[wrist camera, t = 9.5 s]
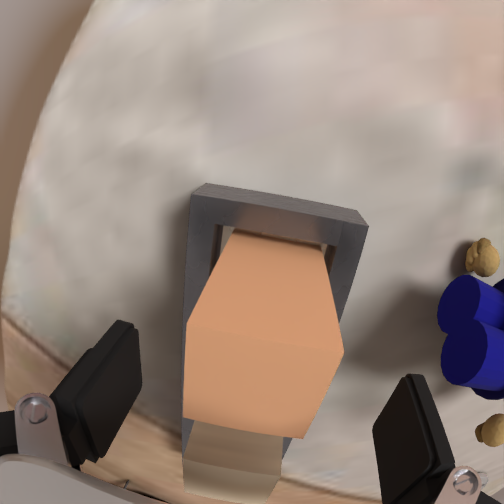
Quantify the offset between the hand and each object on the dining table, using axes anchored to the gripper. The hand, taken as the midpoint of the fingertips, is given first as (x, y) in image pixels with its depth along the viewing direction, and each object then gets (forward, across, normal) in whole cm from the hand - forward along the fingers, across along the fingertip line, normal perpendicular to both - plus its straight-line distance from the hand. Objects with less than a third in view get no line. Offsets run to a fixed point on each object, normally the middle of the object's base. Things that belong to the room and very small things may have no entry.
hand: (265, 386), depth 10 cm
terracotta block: (+7, +1, -1) cm, 7 cm away
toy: (+9, -16, 0) cm, 19 cm away
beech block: (+7, +1, +7) cm, 11 cm away
